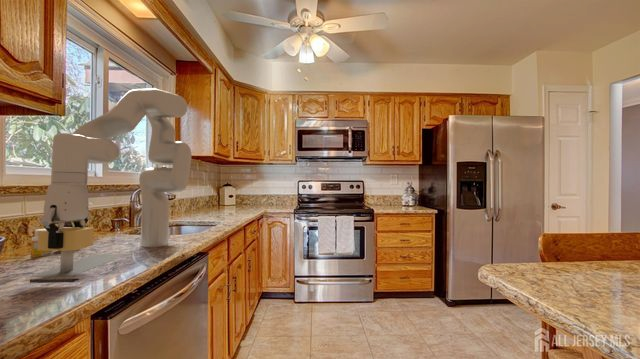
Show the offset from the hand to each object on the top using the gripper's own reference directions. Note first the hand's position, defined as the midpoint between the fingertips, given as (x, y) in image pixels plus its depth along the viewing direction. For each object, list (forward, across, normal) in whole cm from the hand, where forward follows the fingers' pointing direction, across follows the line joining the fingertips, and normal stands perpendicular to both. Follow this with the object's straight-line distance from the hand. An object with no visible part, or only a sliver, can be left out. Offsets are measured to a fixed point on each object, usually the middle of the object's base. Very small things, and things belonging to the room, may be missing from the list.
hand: (66, 244), depth 79 cm
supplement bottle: (+9, -19, -21) cm, 30 cm away
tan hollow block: (+1, 0, 0) cm, 1 cm away
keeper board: (+8, -7, 0) cm, 11 cm away
